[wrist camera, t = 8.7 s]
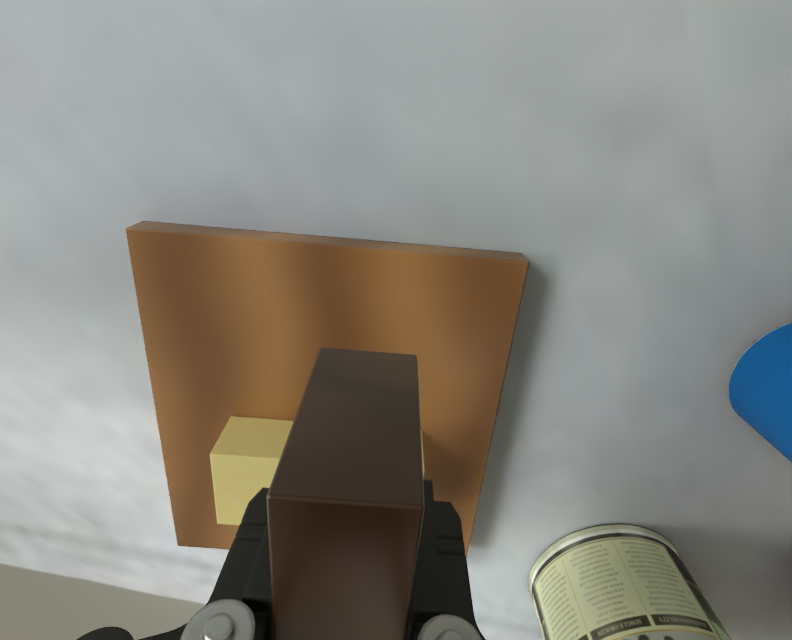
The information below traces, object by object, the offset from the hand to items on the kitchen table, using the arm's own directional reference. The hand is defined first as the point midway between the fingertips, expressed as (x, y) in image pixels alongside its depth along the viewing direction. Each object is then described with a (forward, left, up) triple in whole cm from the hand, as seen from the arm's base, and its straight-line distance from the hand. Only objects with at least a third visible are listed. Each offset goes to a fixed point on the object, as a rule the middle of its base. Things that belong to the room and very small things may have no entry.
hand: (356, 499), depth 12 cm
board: (-2, -6, -12) cm, 14 cm away
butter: (-4, -8, -11) cm, 14 cm away
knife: (0, -4, -1) cm, 4 cm away
